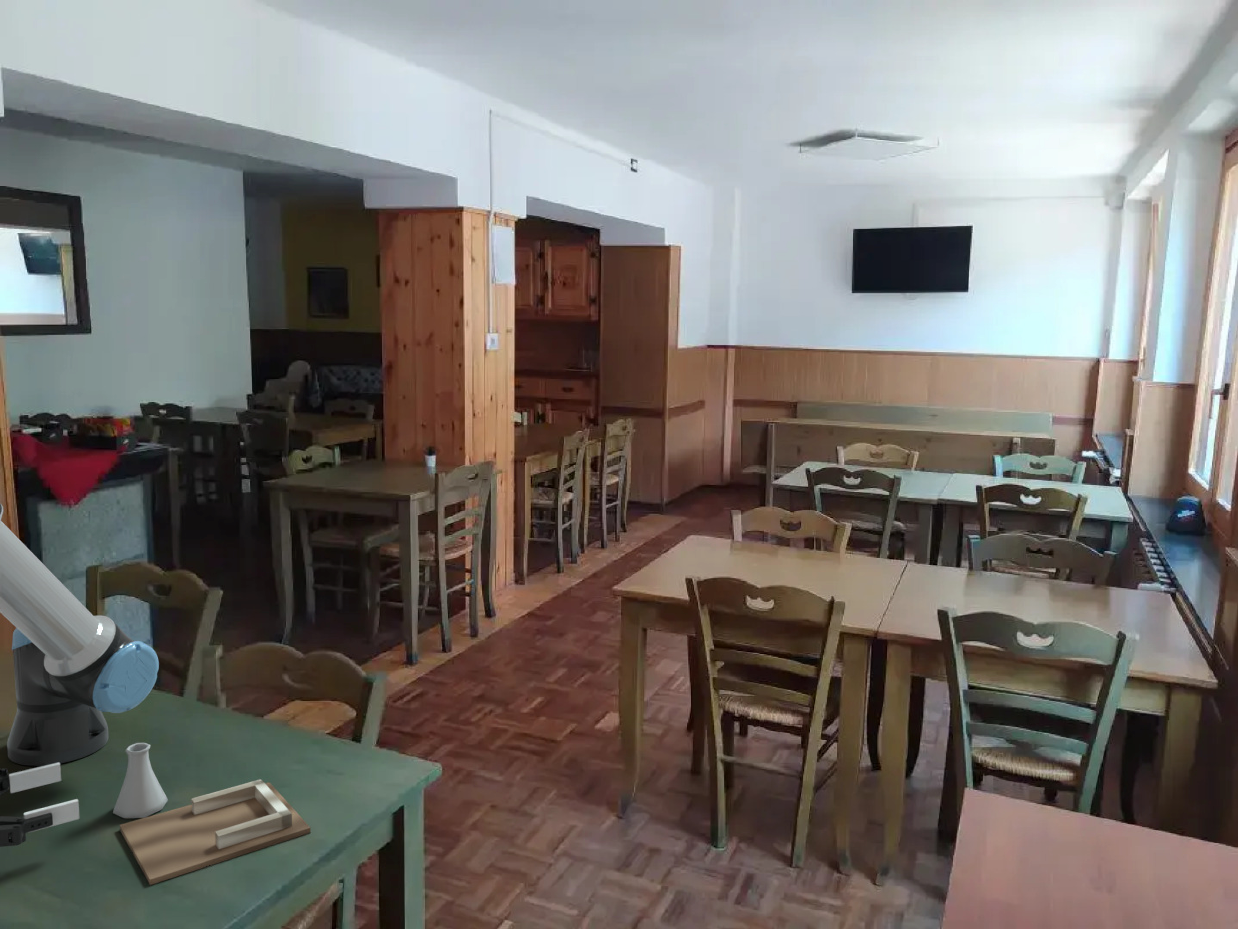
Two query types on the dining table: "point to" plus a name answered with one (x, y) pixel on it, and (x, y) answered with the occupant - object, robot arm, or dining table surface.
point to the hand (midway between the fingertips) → (69, 789)
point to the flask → (139, 786)
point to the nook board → (212, 830)
